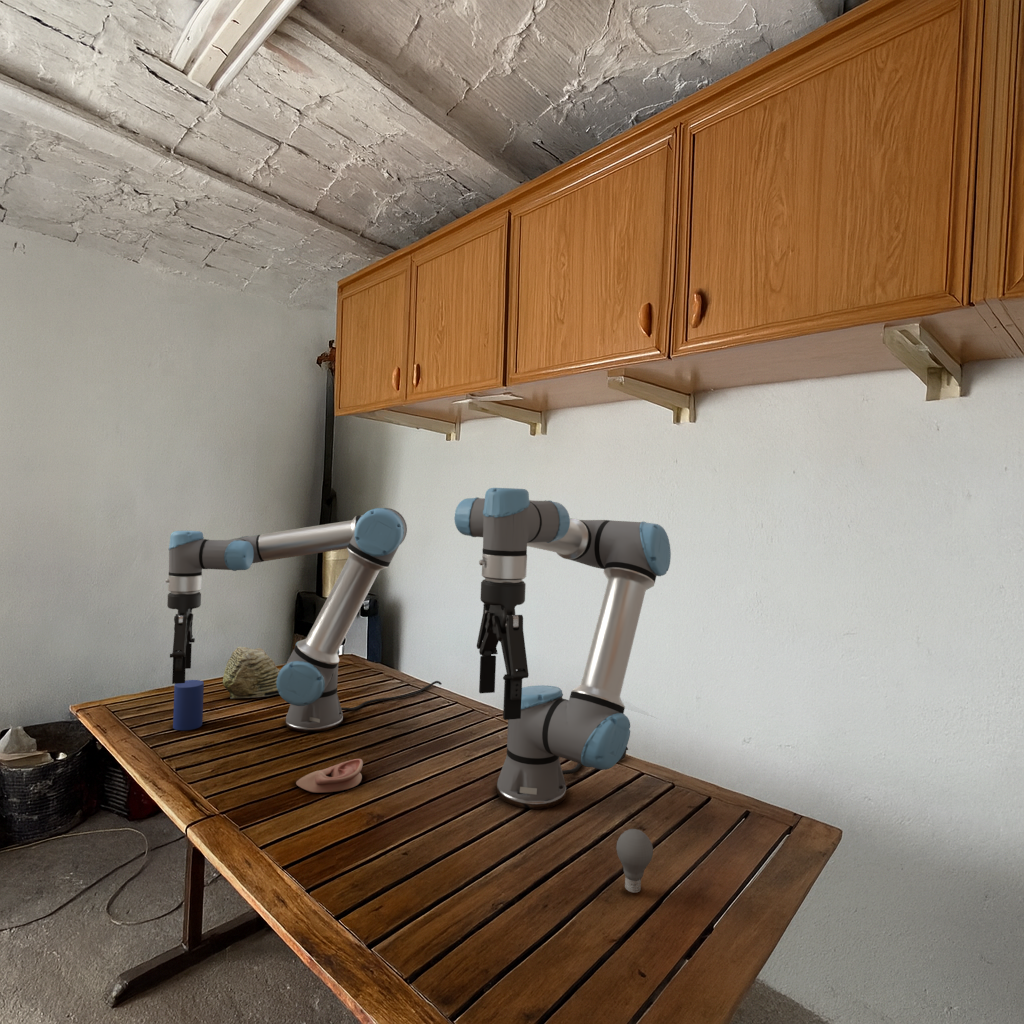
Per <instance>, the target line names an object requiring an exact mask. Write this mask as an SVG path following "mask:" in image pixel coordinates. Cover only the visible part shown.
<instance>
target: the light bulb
mask: <svg viewBox="0 0 1024 1024" xmlns="http://www.w3.org/2000/svg"><path fill="white" fill-rule="evenodd" d="M615 849H616V854H617V857H618V859H619V861H620V863H621V865H622V867H623V873H624V874H623V875H624V876H625V878H624V888H625V890H627V891H628V892H630V893H634V894H635V893H639V892H640V891H641V889H642V887H641V886H642V879H643V877H644V875H645V871H646V868H647V867H648V866H649V864H650V863H651V861H652V859H653V855H654V847H653V843H652V841H651V838H649V836H648V835H647V834H646V833H645V832H643V831H642V830H641V829H636V828H629V829H627V830H625V831H623V832H622V833H621V834H620V835H619V837H618V839H617V841H616V847H615Z"/></svg>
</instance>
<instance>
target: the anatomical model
mask: <svg viewBox="0 0 1024 1024" xmlns="http://www.w3.org/2000/svg"><path fill="white" fill-rule="evenodd" d="M363 765H364V761H363V759H361V758H354V759H350V760H346V761H343V762H340V763H337V764H334V765H332V766H329V767H327V768H324V769H320V770H319V769H318V770H316V771H315V770H314V771H313V772H310V773H308V774H306V775H304V776H302V777H300V778H299V779H297V780H296V782H295V784H296V786H298V787H299V788H301V789H303V790H305V791H307V792H309V793H314V794H316V793H317V794H319V793H321V794H322V793H333V792H341V791H344V790H345V791H346V790H349V789H352V788H355V787H356V786H358V785H359V784H360V783H361V782H362V779H363V775H362V773H361V771H362V769H363Z"/></svg>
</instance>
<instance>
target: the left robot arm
mask: <svg viewBox="0 0 1024 1024" xmlns="http://www.w3.org/2000/svg"><path fill="white" fill-rule="evenodd" d="M407 533H408V525H407V522H406V520H405V518H404V516H403V515H402V514H401V513H400V512H399V511H397V510H395V509H392V508H389V507H375V508H372V509H369V510H367V511H366V512H365V513H363V514H360V515H355V516H354V517H353V519H350V520H344V521H339V522H332V523H325V524H319V525H312V526H305V527H300V528H293V529H292V528H291V529H287V530H279V531H274V532H267V533H261V534H255V535H245V536H240V537H237V538H231V539H206V538H205V537H204V533H203V532H202V531H200V530H174V531H173V532H171V534H170V536H169V547H168V578H166V579H165V583H166V584H167V585H168V586H167V590H168V591H169V592H168V593H167V601H166V602H167V603H166V604H167V606H166V607H167V608H168V609H170V610H177V613H175V615H174V616H173V617H174V618H173V622H174V625H173V632H174V633H173V641H172V642H173V643H172V653H169V658H170V659H171V658H172V675H171V676H172V679H171V684H172V685H175V684H178V683H185V681H186V669H191V668H192V647H193V645H192V644H193V643H195V642H196V639H195V637H193V636H194V635H193V620H194V613H193V610H194V609H198V608H200V607H201V606H202V593H201V591H202V590H203V589H202V585H203V570H222V571H233V572H236V571H247V570H249V569H250V568H251V566H252V565H253V564H257V563H263V562H269V561H275V560H276V561H277V560H282V559H288V558H294V557H301V556H306V555H307V556H308V555H314V554H321V553H327V552H334V551H340V550H345V549H346V550H347V553H348V557H347V559H346V562H345V563H344V565H343V566H342V569H341V571H340V573H339V575H338V577H337V579H336V580H335V583H334V585H333V586H332V588H331V590H330V592H329V594H328V596H327V597H326V600H325V602H324V604H323V606H322V607H321V609H320V611H319V613H318V615H317V616H316V619H315V621H314V623H313V625H312V627H311V628H310V630H309V632H308V634H307V636H306V637H305V638H304V639H301V640H298V641H297V642H296V643H295V646H294V648H293V649H292V652H291V654H290V656H289V657H288V659H287V662H286V663H285V664H284V665H283V666H282V667H281V668H280V669H279V670H280V671H279V674H278V677H277V681H276V685H277V690H278V692H279V694H278V695H279V696H280V697H281V699H283V701H285V702H286V703H288V704H289V708H288V711H287V713H286V715H285V726H286V728H287V729H289V730H291V731H294V732H295V731H296V732H301V733H316V732H325V731H329V730H332V729H335V728H337V727H339V726H340V725H342V723H343V722H344V714H343V711H349V712H351V711H356V710H359V709H360V708H362V707H364V706H365V705H368V704H371V703H375V702H384V701H385V702H386V701H392V700H398V699H403V698H407V697H411V696H412V697H413V696H416V695H419V694H420V693H422V692H423V691H425V690H426V689H429V688H431V687H432V686H433V685H435V684H438V685H442V682H441V681H439V680H435V681H433V682H431V683H430V684H428V685H426V686H423V687H422V688H420V689H419V690H417V691H414V692H410V693H406V694H401V695H395V696H391V697H390V696H389V697H381V698H375V699H370V700H366V701H364V702H362V703H360V704H359V705H357V706H354V707H345V706H344V707H343V706H341V702H340V699H339V695H338V682H339V681H338V680H339V678H338V677H339V662H340V658H339V657H340V656H339V655H340V648H341V646H342V644H343V642H344V640H345V638H346V636H347V634H348V632H349V630H350V628H351V627H352V625H353V623H354V621H355V619H356V617H357V615H358V613H359V611H360V609H361V607H362V606H363V604H364V601H365V599H366V598H367V596H368V594H369V592H370V590H371V589H372V586H373V584H374V583H375V581H376V578H377V576H378V574H379V573H380V571H382V570H385V569H388V568H389V566H390V564H391V562H392V561H393V559H394V557H395V555H396V553H397V551H398V549H399V547H400V546H401V545H402V543H404V541H405V539H406V537H407Z"/></svg>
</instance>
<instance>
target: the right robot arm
mask: <svg viewBox="0 0 1024 1024" xmlns="http://www.w3.org/2000/svg"><path fill="white" fill-rule="evenodd" d="M453 520H454V524H455V527H456V530H457V531H458V532H459V533H460V534H461V535H463V536H467V537H472V538H482V554H481V555H482V557H481V558H482V559H479V561H478V564H479V565H480V566H481V576H482V577H483V578H484V579H482V580H481V582H480V602H482V603H483V605H482V606H483V608H482V617H481V622H480V627H479V631H478V637H477V642H476V649H477V650H478V652H479V655H480V657H479V681H478V682H479V683H478V685H479V686H478V693H479V694H492V693H494V694H495V692H496V671H497V670H496V669H497V667H496V666H497V656H496V655H498V653H499V652H498V649H497V646H498V644H499V642H500V646H501V651H502V656H503V662H504V667H505V671H506V672H505V674H504V675H503V677H502V679H503V680H504V685H503V707H502V708H503V709H502V710H503V712H502V719H503V720H504V721H507V735H506V736H507V739H506V757H505V760H504V761H503V765H502V768H501V770H500V773H499V775H498V778H497V782H496V794H497V796H498V797H500V799H501V800H502V801H504V802H505V803H507V804H510V805H512V806H515V807H518V808H524V809H535V810H536V809H547V808H551V807H555V806H557V805H559V804H561V803H562V802H564V800H565V799H566V796H567V783H566V779H565V777H564V776H565V775H572V774H575V773H577V772H578V771H579V770H580V769H581V768H582V766H585V767H586V768H592V769H593V768H594V769H596V770H600V771H606V770H609V769H611V768H613V767H614V766H615V765H616V764H617V763H618V762H621V761H622V760H624V759H625V757H626V755H627V751H628V750H629V747H628V744H629V741H630V736H631V730H630V728H631V722H630V719H629V718H628V716H627V715H626V714H624V713H625V709H626V706H625V704H624V702H623V700H622V697H621V694H622V690H623V686H624V682H625V677H626V673H627V670H628V665H629V662H630V657H631V653H632V649H633V646H634V645H633V644H634V641H635V637H636V632H637V627H638V625H639V620H640V616H641V613H642V608H643V603H644V599H645V595H646V591H648V590H650V589H651V588H653V587H654V586H655V584H656V581H657V577H662V576H665V575H666V574H667V572H668V571H669V569H670V565H671V559H672V557H671V555H672V553H671V550H672V549H671V543H670V539H669V536H668V533H667V531H666V529H665V528H664V527H663V526H662V525H661V524H658V523H654V522H647V521H630V520H629V521H627V520H609V519H578V518H573V517H572V518H571V517H570V514H569V511H568V510H567V508H566V506H565V505H563V504H562V503H560V502H557V501H553V500H531V499H530V492H529V491H528V490H527V489H526V488H514V487H489V488H488V489H487V490H486V491H485V494H484V498H483V497H482V498H481V497H477V496H475V497H467V498H464V499H462V500H461V501H459V503H458V504H457V506H456V508H455V510H454V519H453ZM529 547H530V548H534V549H537V550H538V549H539V550H543V551H548V552H553V553H556V554H557V555H558V557H561V558H562V559H565V560H570V561H573V562H576V563H578V564H582V565H584V566H589V567H592V568H596V569H602V570H603V574H604V576H605V578H606V580H607V583H606V587H605V591H604V595H603V598H602V602H601V606H600V610H599V613H598V617H597V621H596V624H595V628H594V632H593V636H592V639H591V643H590V648H589V651H588V655H587V659H586V662H585V666H584V670H583V673H582V678H581V681H580V684H579V685H578V686H577V687H575V688H573V689H571V691H570V695H569V698H568V699H566V698H563V697H564V694H563V689H561V688H560V687H559V686H555V685H549V684H547V685H545V684H540V685H539V684H538V685H537V684H536V685H528V686H523V680H524V679H528V678H529V674H530V673H529V667H528V658H527V651H526V642H525V633H524V615H523V614H516V607H517V606H521V605H523V604H525V602H526V587H527V586H526V585H527V584H526V582H525V581H524V579H526V578H527V570H528V569H527V568H528V548H529ZM560 758H562V759H565V760H568V761H571V762H574V763H577V764H576V765H575V767H573V768H571V769H562V766H561V762H560Z"/></svg>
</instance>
